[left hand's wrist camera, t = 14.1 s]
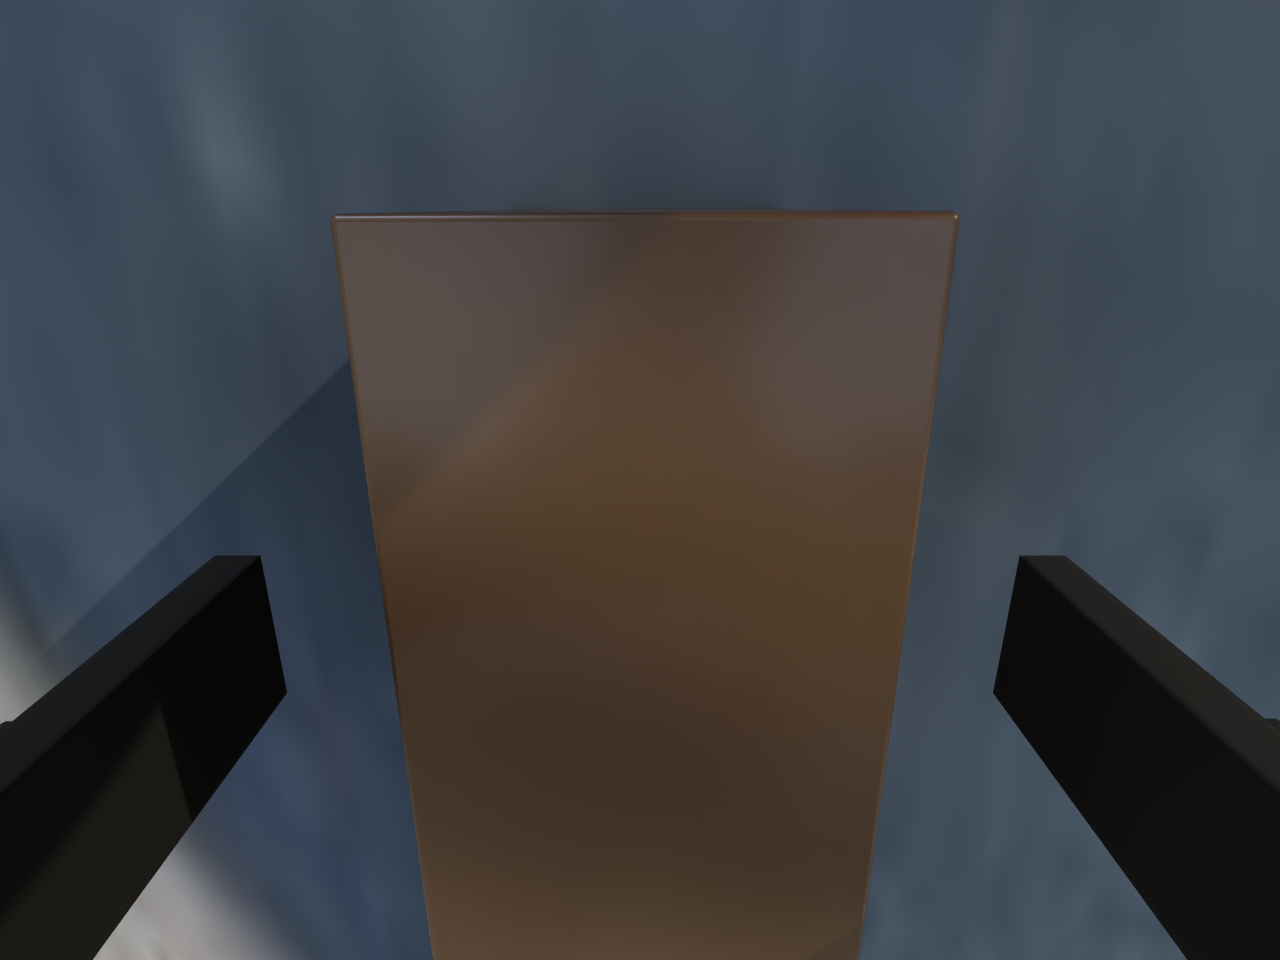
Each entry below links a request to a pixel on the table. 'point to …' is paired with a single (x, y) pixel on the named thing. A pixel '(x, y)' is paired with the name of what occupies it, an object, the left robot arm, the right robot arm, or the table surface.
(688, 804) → the post
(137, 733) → the left robot arm
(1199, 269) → the table surface
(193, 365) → the table surface
